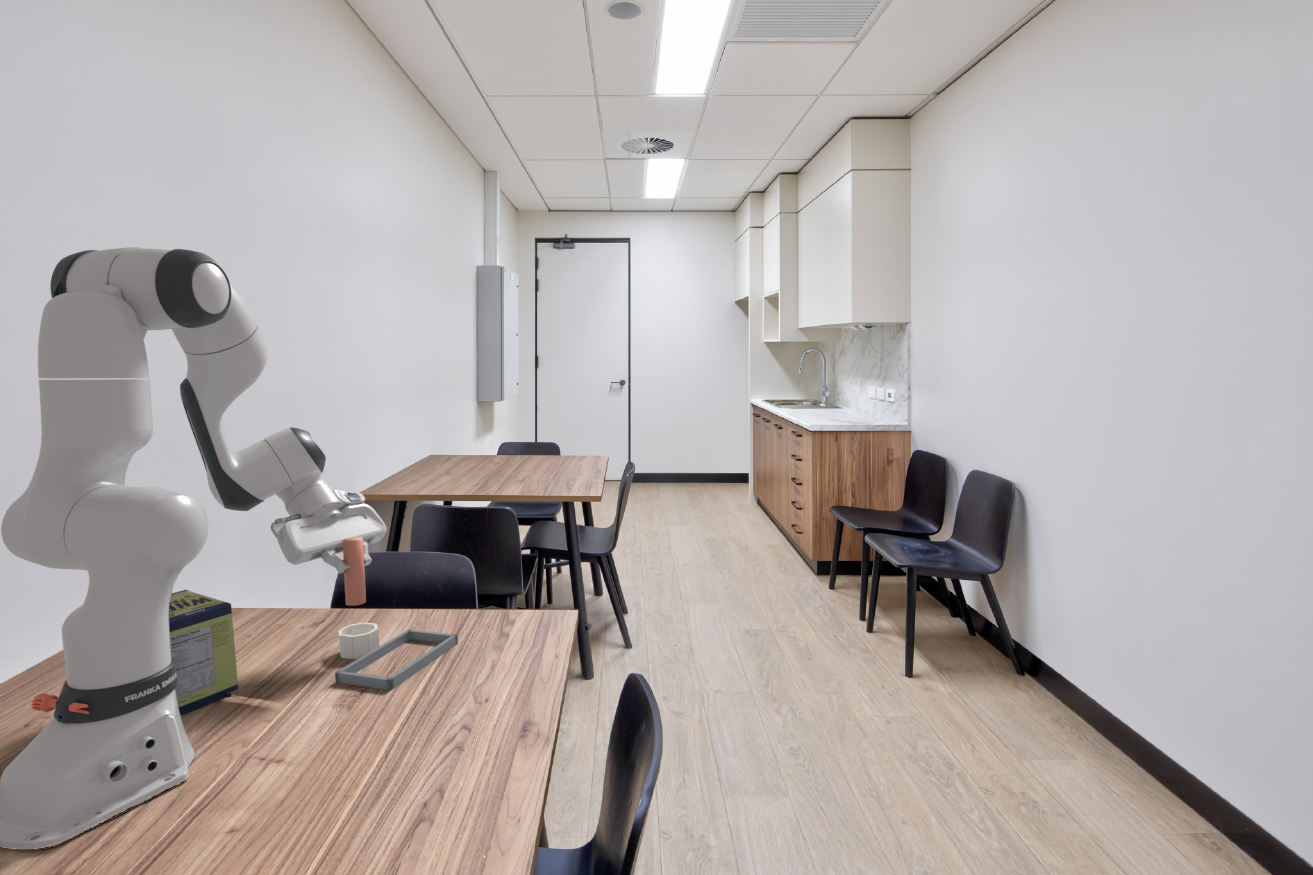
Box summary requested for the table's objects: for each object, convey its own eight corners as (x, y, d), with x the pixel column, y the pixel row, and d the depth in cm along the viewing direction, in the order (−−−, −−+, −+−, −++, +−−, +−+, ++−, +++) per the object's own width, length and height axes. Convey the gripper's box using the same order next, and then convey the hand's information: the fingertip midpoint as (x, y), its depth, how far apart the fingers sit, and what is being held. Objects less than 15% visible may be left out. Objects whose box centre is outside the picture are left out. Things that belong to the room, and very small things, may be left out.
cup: (362, 664, 126) (361, 638, 126) (332, 660, 128) (330, 634, 128) (386, 649, 133) (385, 624, 132) (357, 646, 135) (355, 621, 134)
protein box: (192, 672, 124) (185, 588, 122) (240, 692, 116) (233, 602, 114) (124, 696, 115) (115, 606, 114) (171, 720, 107) (162, 623, 106)
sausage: (357, 606, 127) (354, 542, 126) (341, 604, 128) (338, 540, 127) (370, 600, 130) (367, 537, 129) (354, 598, 131) (351, 536, 130)
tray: (391, 694, 115) (390, 680, 114) (335, 686, 118) (335, 672, 118) (458, 647, 134) (457, 634, 133) (409, 641, 137) (408, 629, 137)
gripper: (273, 510, 121) (314, 571, 118) (368, 491, 140) (406, 544, 136) (258, 532, 124) (298, 593, 120) (354, 511, 142) (391, 564, 138)
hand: (356, 567), depth 128 cm, fingers closed on sausage, 3 cm apart
